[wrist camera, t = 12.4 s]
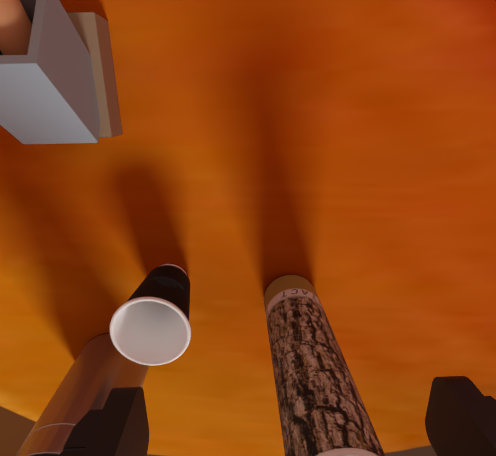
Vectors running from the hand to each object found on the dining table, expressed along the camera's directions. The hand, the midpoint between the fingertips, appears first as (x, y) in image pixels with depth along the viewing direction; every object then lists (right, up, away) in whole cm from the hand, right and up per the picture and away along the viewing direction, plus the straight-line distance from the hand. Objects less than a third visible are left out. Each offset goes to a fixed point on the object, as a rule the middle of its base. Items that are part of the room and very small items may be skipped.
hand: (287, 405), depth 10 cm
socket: (-20, +20, +27) cm, 39 cm away
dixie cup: (-11, -2, +36) cm, 37 cm away
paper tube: (+4, -4, +37) cm, 37 cm away
